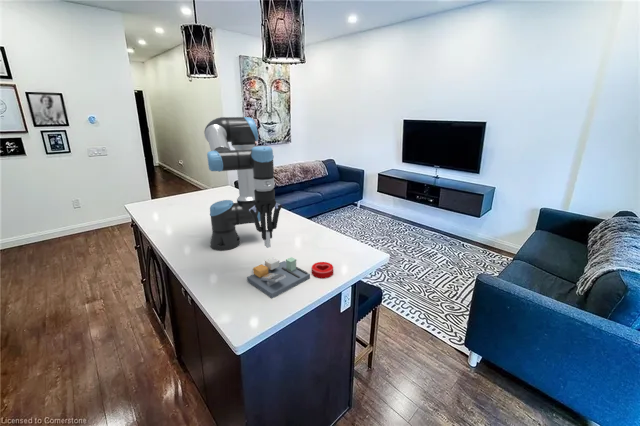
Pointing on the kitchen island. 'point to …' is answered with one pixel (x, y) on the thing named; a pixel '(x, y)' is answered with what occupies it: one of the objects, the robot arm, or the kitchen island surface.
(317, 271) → the decorative ornament
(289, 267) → the pale green block
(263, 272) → the button
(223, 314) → the kitchen island surface
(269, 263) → the button
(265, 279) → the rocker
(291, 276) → the panel
